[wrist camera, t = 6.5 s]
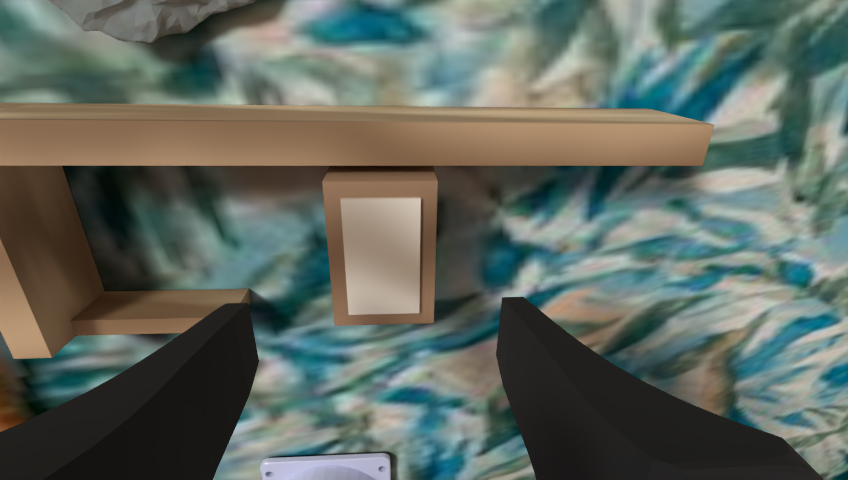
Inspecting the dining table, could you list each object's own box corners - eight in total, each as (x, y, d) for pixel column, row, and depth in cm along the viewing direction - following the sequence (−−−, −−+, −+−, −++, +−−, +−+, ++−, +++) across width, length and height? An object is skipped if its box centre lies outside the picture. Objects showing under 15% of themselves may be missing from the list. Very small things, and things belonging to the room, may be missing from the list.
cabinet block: (425, 265, 22) (434, 325, 17) (347, 266, 22) (334, 328, 17) (427, 149, 19) (438, 182, 15) (339, 149, 19) (321, 182, 15)
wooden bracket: (607, 294, 23) (650, 345, 19) (78, 305, 21) (7, 363, 18) (649, 108, 19) (714, 124, 15) (2, 102, 17) (-112, 119, 13)
